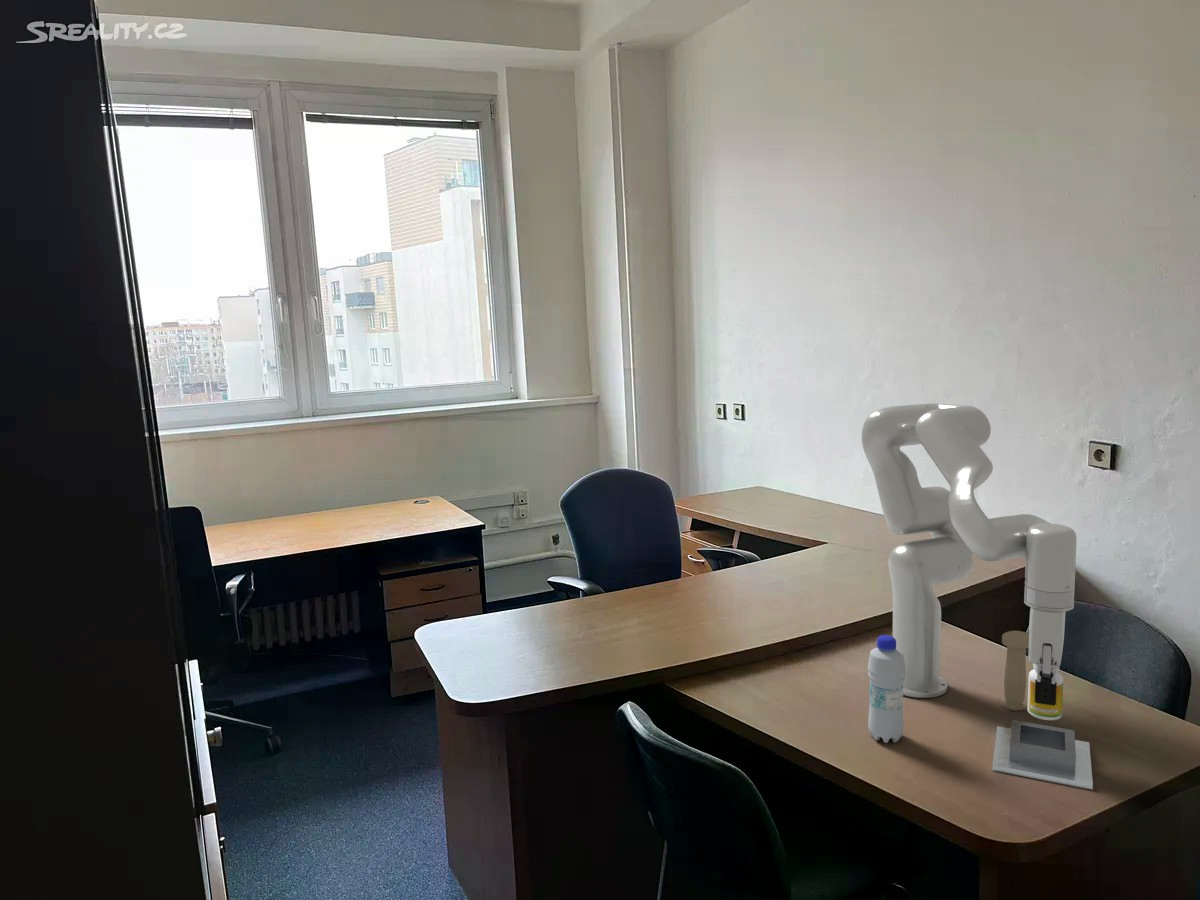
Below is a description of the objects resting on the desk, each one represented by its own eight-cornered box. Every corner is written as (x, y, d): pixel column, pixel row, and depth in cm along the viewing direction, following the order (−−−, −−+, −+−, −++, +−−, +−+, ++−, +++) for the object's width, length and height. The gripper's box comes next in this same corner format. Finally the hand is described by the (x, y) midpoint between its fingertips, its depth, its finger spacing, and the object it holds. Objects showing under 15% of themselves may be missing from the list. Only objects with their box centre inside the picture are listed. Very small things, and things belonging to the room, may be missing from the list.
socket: (992, 770, 145) (993, 748, 145) (997, 731, 158) (997, 711, 158) (1092, 789, 138) (1093, 767, 138) (1088, 747, 151) (1090, 726, 151)
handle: (1033, 706, 167) (1037, 635, 165) (1018, 717, 163) (1021, 644, 161) (1009, 698, 171) (1012, 628, 169) (994, 709, 167) (996, 637, 165)
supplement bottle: (1066, 722, 144) (1068, 668, 142) (1032, 720, 145) (1034, 667, 143) (1056, 707, 149) (1058, 655, 147) (1023, 706, 150) (1025, 654, 148)
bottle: (886, 749, 153) (887, 645, 150) (859, 734, 159) (860, 634, 156) (912, 740, 156) (914, 638, 153) (885, 725, 162) (886, 626, 159)
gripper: (1025, 579, 153) (1022, 674, 155) (1023, 609, 138) (1019, 713, 140) (1072, 584, 149) (1068, 680, 152) (1075, 615, 134) (1070, 721, 137)
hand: (1045, 695), depth 146 cm, fingers closed on supplement bottle, 5 cm apart
